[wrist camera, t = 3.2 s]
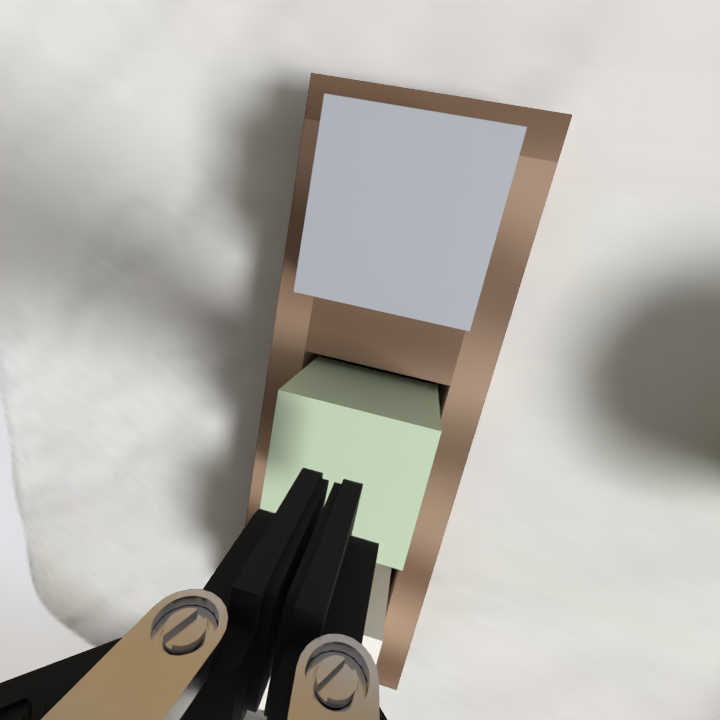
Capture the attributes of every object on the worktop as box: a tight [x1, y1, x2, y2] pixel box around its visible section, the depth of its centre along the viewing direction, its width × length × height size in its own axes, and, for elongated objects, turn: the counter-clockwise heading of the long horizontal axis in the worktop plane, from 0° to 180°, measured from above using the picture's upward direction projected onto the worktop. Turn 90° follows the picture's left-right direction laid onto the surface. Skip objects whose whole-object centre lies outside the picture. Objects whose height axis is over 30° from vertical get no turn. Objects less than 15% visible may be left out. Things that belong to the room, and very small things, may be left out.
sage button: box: [260, 357, 442, 571], centre depth 16 cm, size 6×6×5 cm
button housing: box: [245, 73, 572, 690], centre depth 19 cm, size 27×9×3 cm, turn 169°
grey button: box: [294, 93, 527, 331], centre depth 14 cm, size 6×6×5 cm
